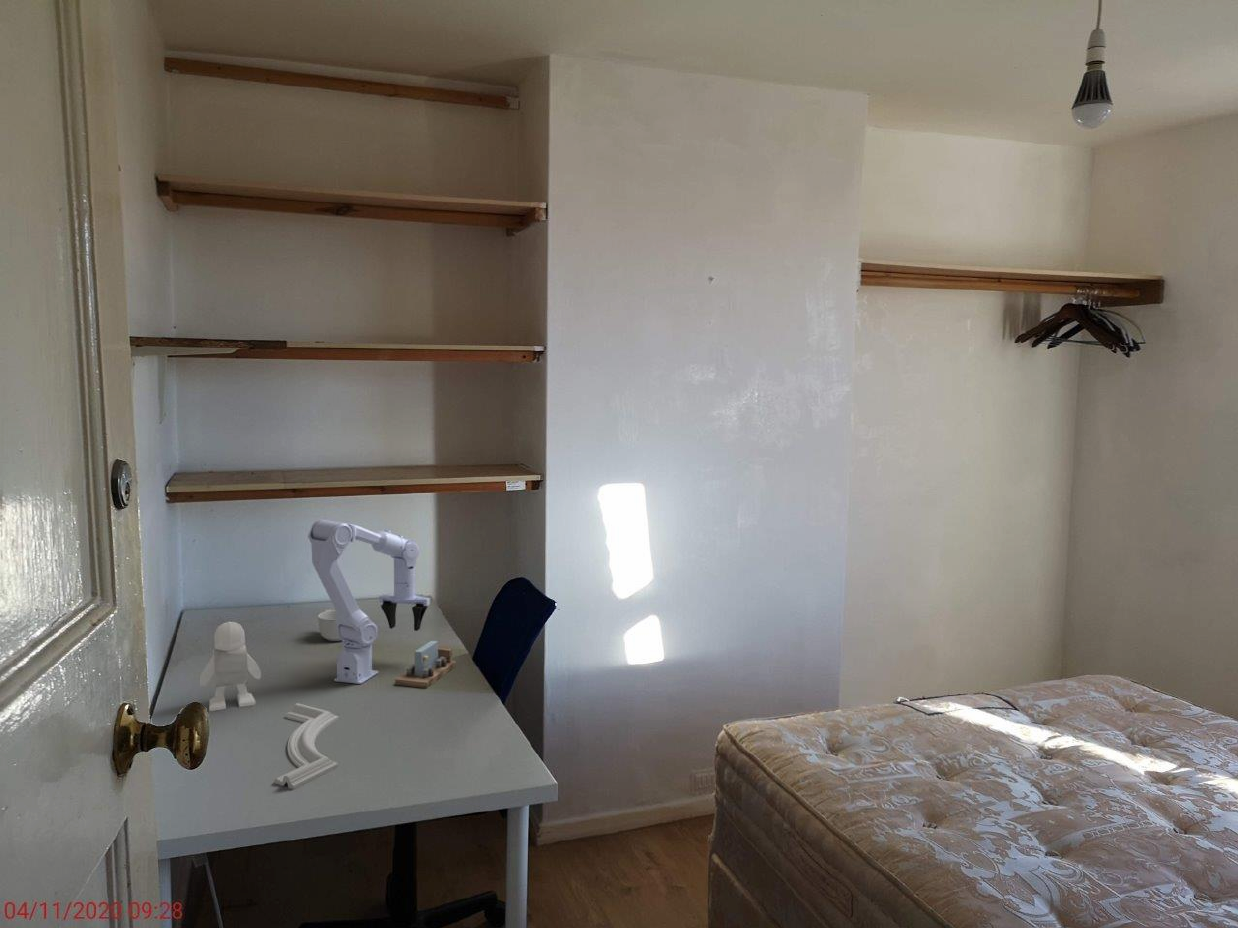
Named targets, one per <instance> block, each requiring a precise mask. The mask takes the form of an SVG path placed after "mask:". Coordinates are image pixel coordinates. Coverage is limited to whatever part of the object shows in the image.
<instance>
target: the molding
mask: <svg viewBox="0 0 1238 928" xmlns="http://www.w3.org/2000/svg"><path fill="white" fill-rule="evenodd" d="M292 708H293V709H292V711H289V712H286V713H285V714H284V719H287V720H288V719H289V720H291V721H295V722H297V723H298V722H299V723H302V724H300V725H299V726H298V727H297V728H296V729H295V730H294V731H293V733H291V735H290V737H289V738H288V741H287V746H286V747H287V755H288V757H289V759H290V761H291V762H292V764H294V765H295V766H296V767H297V768H295V769H294V770H291V771H289V772H287V773H284V774H283V775H281V776H278V777H277V778H275V779H273V784H275V785H280V786H282V787H283V786H285V785H287V788H288V789H291V790H296V789H297V788H299V787H301V786H303V785H306V784H308V783H309V782H311V781H313V780H315V779H317V778H319V777H320V776H323V775H325V774H327V773H329V772H330V771H332V770H335V769H337V768H338V767H339V763H338V762H336V761H333V760H331V759H330V758H329V757H327V756H325V755H323V754H322V753H320V752H319V751H318V750H317V748H316V745H315V742H316V740H317V737H318V736H319V734H320V733H321V732H322V731H323V730H325V729H326V728H327V727H328V726H329V725H331V724H333V723H335V722H337V721H339V719H340V717H339V716H338V715H335V714H334V713H332V712H330V710H325V709H321V708H316V707H313V706H309V705H306V704H302V703H297V702H296V703H294V705H293V707H292Z"/></svg>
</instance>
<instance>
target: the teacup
mask: <svg viewBox="0 0 1238 928" xmlns="http://www.w3.org/2000/svg"><path fill="white" fill-rule="evenodd" d="M337 617H338V614H337V611H336V609H335V608H334V609H329V608H328V609H327V608H326V609H324V610H323V611H322V612H320V613H319V614H318V615H317V618H318V626H319V628H318V629H319V632H320V633H319V634H320V636H321V637H323V638H324V639H326V640H327V641H329V642H340V641H341V642H342V639H341V638H340V637H339V635H338V627H337V624H336V622H335V620H336V619H337Z"/></svg>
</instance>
